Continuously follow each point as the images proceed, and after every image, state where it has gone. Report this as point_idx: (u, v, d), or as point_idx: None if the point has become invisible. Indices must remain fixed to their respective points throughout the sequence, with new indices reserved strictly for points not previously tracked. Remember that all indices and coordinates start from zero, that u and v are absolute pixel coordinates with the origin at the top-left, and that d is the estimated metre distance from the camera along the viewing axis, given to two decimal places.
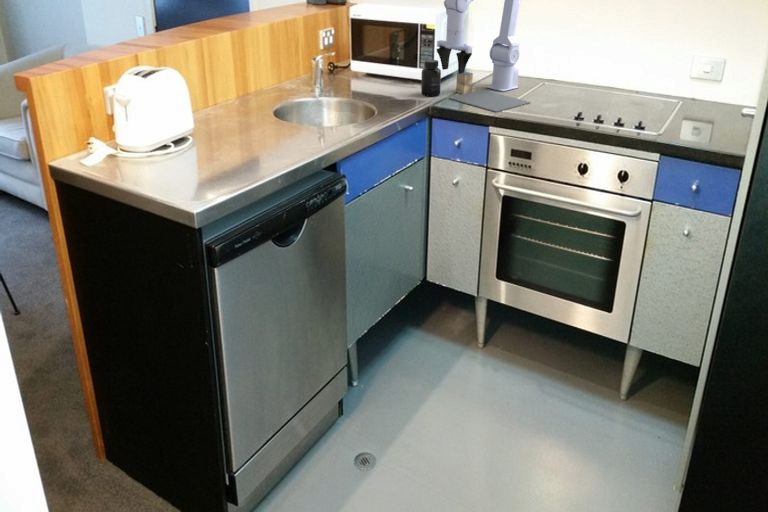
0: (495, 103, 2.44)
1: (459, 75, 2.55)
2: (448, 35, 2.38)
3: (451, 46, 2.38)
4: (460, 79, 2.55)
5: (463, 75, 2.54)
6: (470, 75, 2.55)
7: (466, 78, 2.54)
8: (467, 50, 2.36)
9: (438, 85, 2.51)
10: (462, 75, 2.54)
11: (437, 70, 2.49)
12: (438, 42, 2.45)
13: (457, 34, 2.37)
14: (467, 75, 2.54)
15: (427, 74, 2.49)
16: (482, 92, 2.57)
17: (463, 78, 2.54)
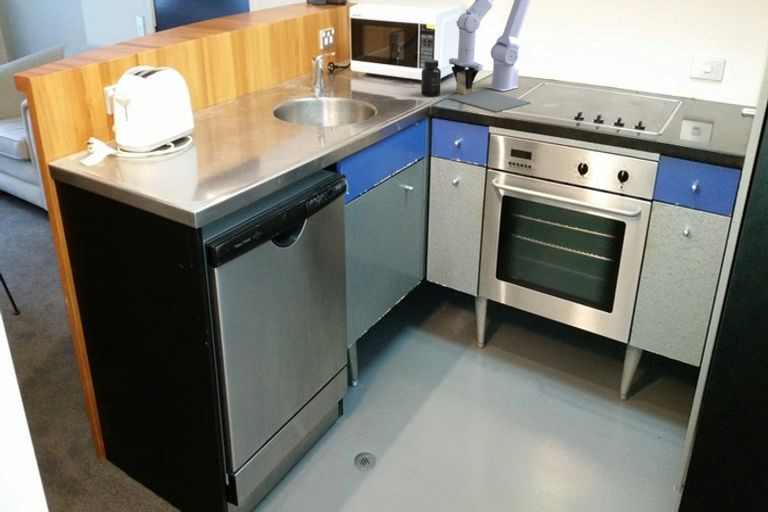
0: (495, 103, 2.44)
1: (459, 75, 2.55)
2: (460, 53, 2.51)
3: (462, 64, 2.51)
4: (460, 79, 2.55)
5: (463, 75, 2.54)
6: None
7: None
8: (478, 68, 2.49)
9: (438, 85, 2.51)
10: (462, 75, 2.54)
11: (437, 70, 2.49)
12: (450, 60, 2.58)
13: (468, 53, 2.50)
14: None
15: (427, 74, 2.49)
16: (482, 92, 2.57)
17: (463, 78, 2.54)
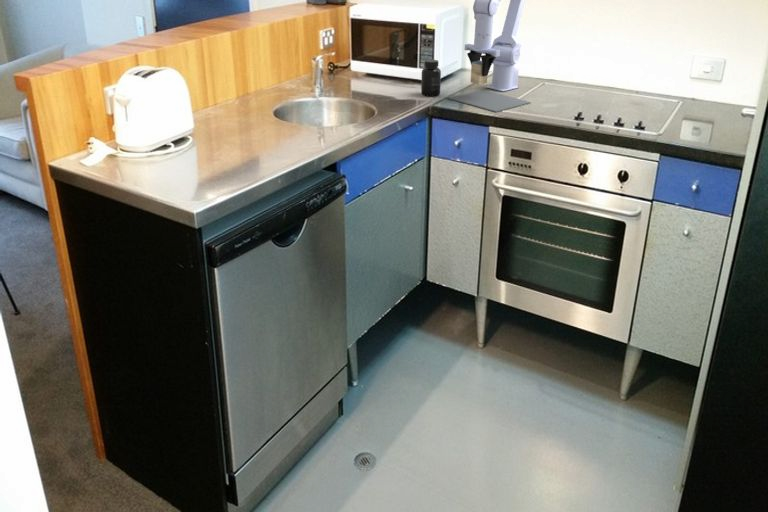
0: (495, 103, 2.44)
1: (474, 65, 2.45)
2: (476, 39, 2.40)
3: (479, 50, 2.41)
4: (475, 69, 2.45)
5: (478, 65, 2.44)
6: None
7: (481, 68, 2.44)
8: (495, 54, 2.39)
9: (438, 85, 2.51)
10: (477, 65, 2.44)
11: (437, 70, 2.49)
12: (465, 46, 2.47)
13: (485, 38, 2.39)
14: None
15: (427, 74, 2.49)
16: (482, 92, 2.57)
17: (478, 68, 2.44)
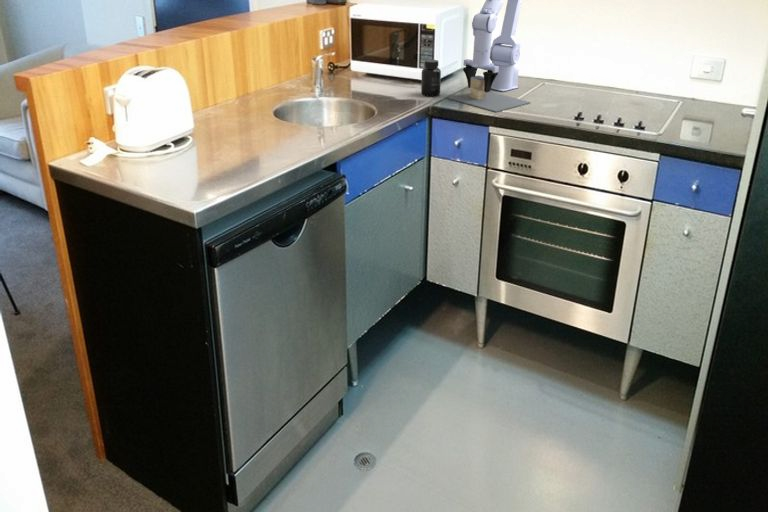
0: (495, 103, 2.44)
1: (473, 80, 2.47)
2: (475, 55, 2.43)
3: (478, 65, 2.44)
4: (474, 84, 2.48)
5: (477, 80, 2.46)
6: None
7: (480, 82, 2.46)
8: (494, 70, 2.41)
9: (438, 85, 2.51)
10: (476, 80, 2.46)
11: (437, 70, 2.49)
12: (464, 61, 2.50)
13: (484, 54, 2.42)
14: (481, 80, 2.46)
15: (427, 74, 2.49)
16: None
17: (477, 83, 2.46)
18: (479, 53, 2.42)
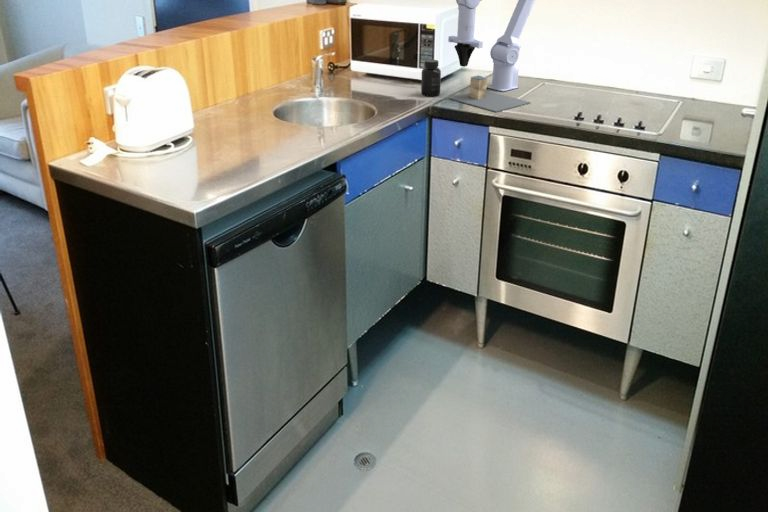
0: (495, 103, 2.44)
1: (473, 80, 2.47)
2: (460, 30, 2.45)
3: (462, 41, 2.46)
4: (474, 84, 2.48)
5: (477, 80, 2.46)
6: (484, 80, 2.47)
7: (480, 82, 2.46)
8: (478, 45, 2.43)
9: (438, 85, 2.51)
10: (476, 80, 2.46)
11: (437, 70, 2.49)
12: (449, 37, 2.52)
13: (468, 30, 2.44)
14: (481, 80, 2.46)
15: (427, 74, 2.49)
16: None
17: (477, 83, 2.46)
18: (463, 29, 2.44)
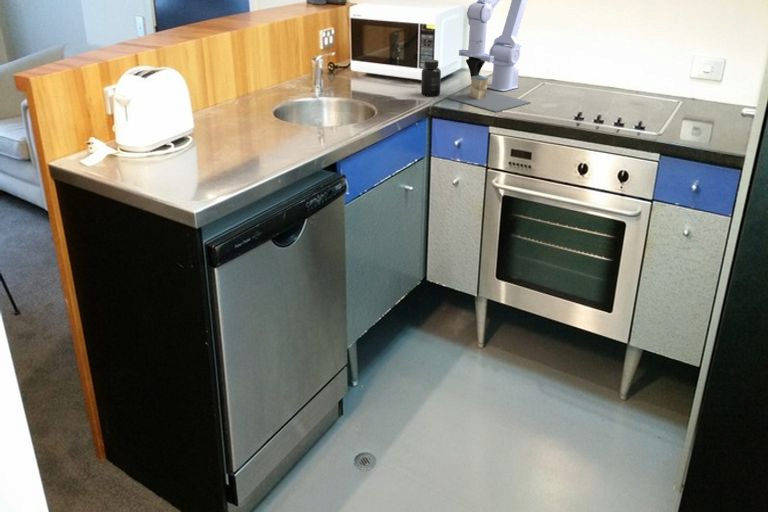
0: (495, 103, 2.44)
1: (474, 79, 2.47)
2: (471, 44, 2.43)
3: (473, 55, 2.44)
4: (475, 83, 2.47)
5: (478, 80, 2.46)
6: (485, 80, 2.47)
7: (481, 83, 2.46)
8: (489, 59, 2.41)
9: (438, 85, 2.51)
10: (477, 80, 2.46)
11: (437, 70, 2.49)
12: (460, 51, 2.50)
13: (479, 44, 2.42)
14: (482, 80, 2.46)
15: (427, 74, 2.49)
16: None
17: (478, 83, 2.46)
18: (474, 43, 2.42)
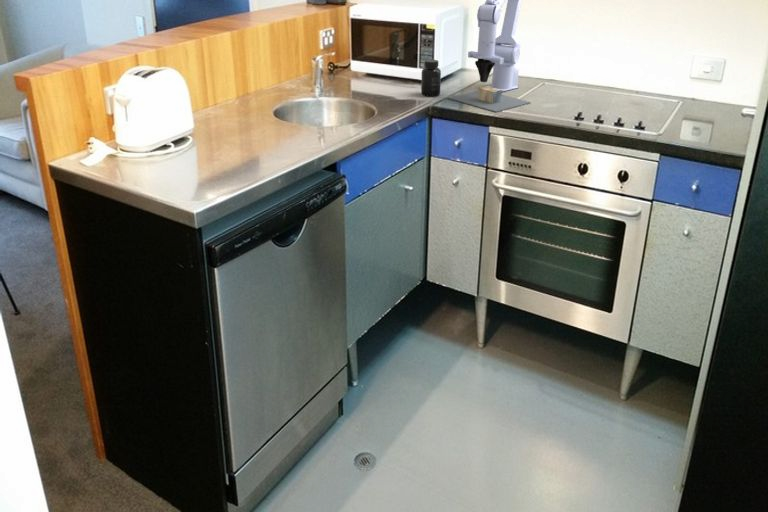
0: (495, 103, 2.44)
1: (492, 95, 2.43)
2: (480, 46, 2.40)
3: (483, 57, 2.41)
4: (489, 96, 2.44)
5: (492, 101, 2.44)
6: None
7: None
8: (499, 61, 2.39)
9: (438, 85, 2.51)
10: (492, 99, 2.44)
11: (437, 70, 2.49)
12: (469, 53, 2.47)
13: (489, 45, 2.39)
14: None
15: (427, 74, 2.49)
16: None
17: (490, 100, 2.45)
18: (484, 44, 2.39)
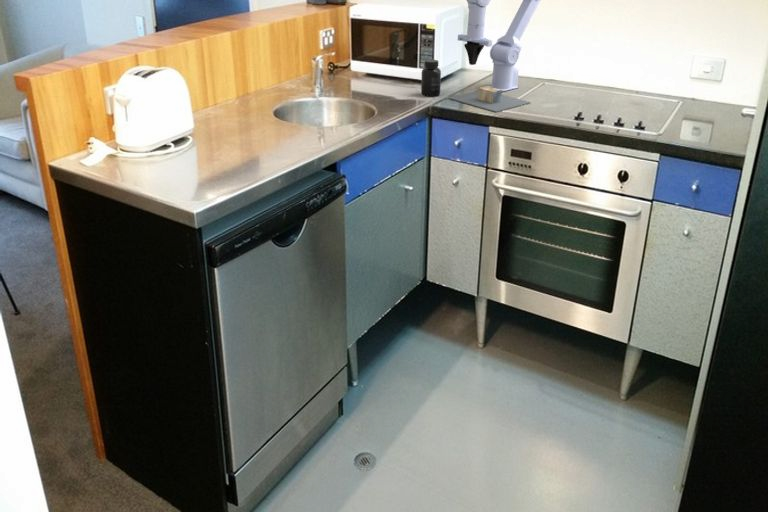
0: (495, 103, 2.44)
1: (492, 95, 2.43)
2: (469, 29, 2.45)
3: (472, 39, 2.46)
4: (489, 96, 2.44)
5: (492, 101, 2.44)
6: None
7: None
8: (487, 44, 2.43)
9: (438, 85, 2.51)
10: (492, 99, 2.44)
11: (437, 70, 2.49)
12: (459, 36, 2.52)
13: (478, 28, 2.44)
14: None
15: (427, 74, 2.49)
16: None
17: (490, 100, 2.45)
18: (473, 27, 2.44)
